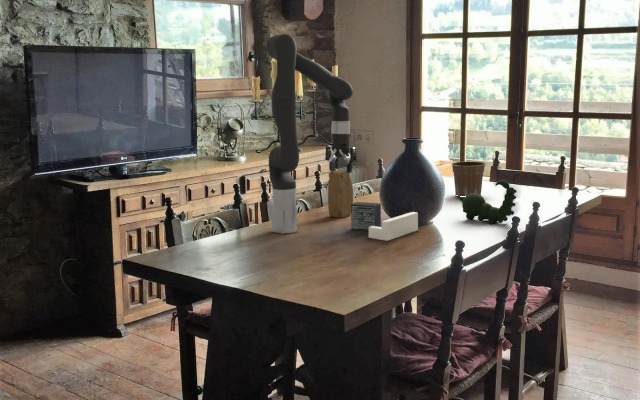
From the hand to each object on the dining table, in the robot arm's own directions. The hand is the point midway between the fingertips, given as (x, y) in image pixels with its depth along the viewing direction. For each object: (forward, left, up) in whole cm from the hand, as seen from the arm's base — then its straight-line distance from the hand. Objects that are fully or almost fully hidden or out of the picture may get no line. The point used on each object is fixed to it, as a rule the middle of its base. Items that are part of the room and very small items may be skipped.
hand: (340, 172), depth 280 cm
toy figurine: (+35, -47, -21) cm, 62 cm away
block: (+10, +8, -21) cm, 25 cm away
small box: (-4, -16, -21) cm, 27 cm away
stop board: (-4, -29, -21) cm, 36 cm away
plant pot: (+81, -14, -21) cm, 85 cm away
